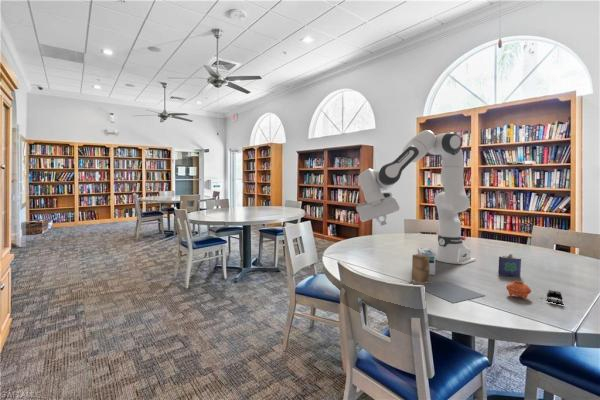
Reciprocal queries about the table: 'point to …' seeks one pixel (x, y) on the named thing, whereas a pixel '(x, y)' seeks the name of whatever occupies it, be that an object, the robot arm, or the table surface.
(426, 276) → the walnut block
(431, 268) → the light bulb box
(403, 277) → the table surface
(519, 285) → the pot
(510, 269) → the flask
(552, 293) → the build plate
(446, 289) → the mat
